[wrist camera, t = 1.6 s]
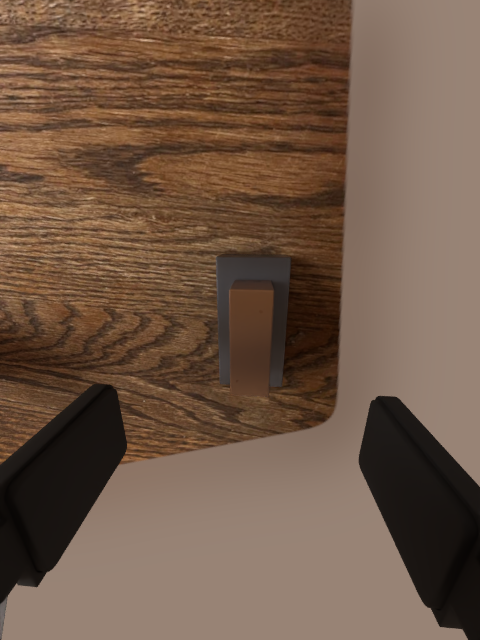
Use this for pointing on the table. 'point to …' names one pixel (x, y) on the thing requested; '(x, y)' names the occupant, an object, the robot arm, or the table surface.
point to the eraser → (252, 321)
